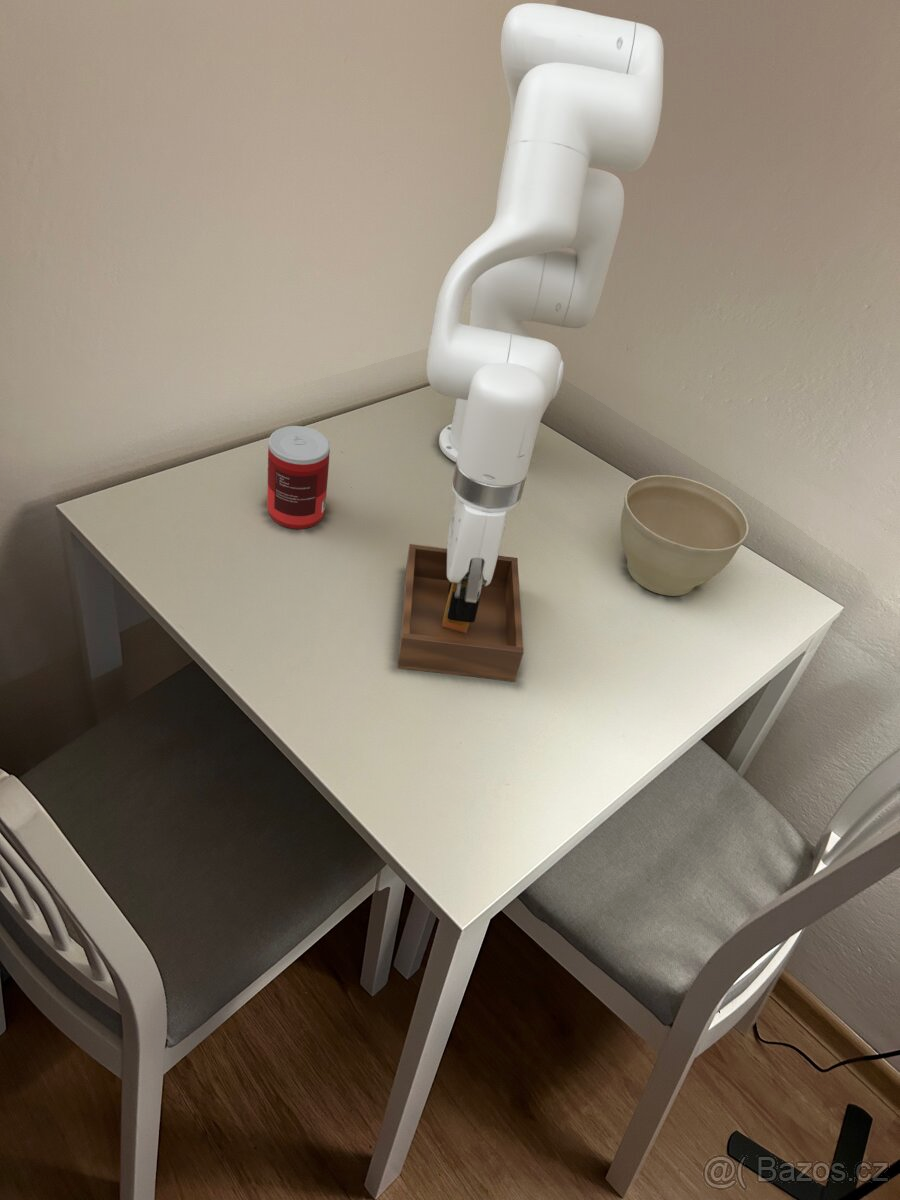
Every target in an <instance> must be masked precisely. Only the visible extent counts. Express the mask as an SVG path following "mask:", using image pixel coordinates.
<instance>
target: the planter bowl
mask: <svg viewBox="0 0 900 1200" xmlns="http://www.w3.org/2000/svg"><path fill="white" fill-rule="evenodd" d="M619 528H620V529H619V530H620V532H619V534H620V542H621V545H622V550H623V553H624V556H625V558H626V560H627V561H626V567H627V570H628V573H629V575H630V576H631V578H632V579H633V580H634V581H635V582H636V583H637V584H638V585H640V586H642V587H643V588H645V589H646V590H648V591H650V592H653V593H655V594H658V595H663V596H669V597H678V596H684V595H686V594H689V593H691V592H692V591H693V590H694V589H695V587H697V586H700V585H702V584H704V583H706V582H708V581H709V580H711V579H713V577H716V576H717V575H718V574H719V573H720V572H721V571H723V570H724V569H725V567H726V566H727V565H728V564H729V563H730V562H731V561H732V559H733V558H734V557H735V556H736V553H737V551H738V550H739V548H740V547H741V546H742V544H744V542H745V541H746V538H747V537H748V535H749V530H750V529H749V528H750V527H749V521H748V518H747V516H746V515H745V513H744V512H743V510H742V509H741V508H740V506H738V504H737V503H736V502H734V501H733V499H731V498H730V497H729V496H728V495H725V494H724V493H723V492H721V491H719V490H717V489H716V488H714V487H711V486H709V485H707V484H705V483H702V482H700V481H697V480H694V479H690V478H687V477H683V476H677V475H669V474H667V475H666V474H665V475H664V474H655V475H650V476H645V477H642V478H639V479H636V480H635V481H633V482H632V484H630V485H629V486H628V488H627V489H626V492H625V494H624V499H623V507H622V511H621V516H620V527H619Z"/></svg>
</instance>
